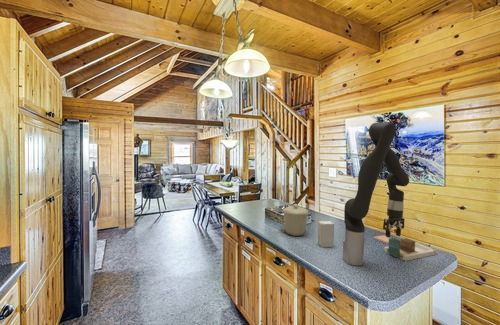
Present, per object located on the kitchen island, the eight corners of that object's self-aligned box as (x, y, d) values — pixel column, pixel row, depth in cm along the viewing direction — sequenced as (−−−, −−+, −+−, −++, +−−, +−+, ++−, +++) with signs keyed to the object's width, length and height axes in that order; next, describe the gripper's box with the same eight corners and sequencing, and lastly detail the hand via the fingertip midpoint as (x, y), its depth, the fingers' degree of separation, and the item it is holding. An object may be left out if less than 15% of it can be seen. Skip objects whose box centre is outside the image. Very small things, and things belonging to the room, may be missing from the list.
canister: (310, 238, 148) (311, 207, 147) (283, 237, 149) (284, 206, 148) (304, 229, 166) (305, 201, 165) (280, 228, 167) (281, 201, 166)
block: (408, 252, 126) (409, 242, 125) (400, 249, 130) (400, 239, 130) (414, 251, 127) (415, 241, 127) (405, 248, 132) (406, 238, 132)
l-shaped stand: (400, 259, 120) (401, 242, 120) (385, 251, 129) (385, 236, 129) (420, 254, 126) (420, 239, 126) (404, 248, 135) (405, 233, 134)
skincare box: (330, 243, 141) (331, 220, 140) (334, 247, 135) (335, 223, 134) (317, 243, 140) (318, 220, 140) (320, 247, 134) (321, 223, 134)
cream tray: (405, 261, 119) (406, 256, 119) (384, 251, 131) (384, 247, 131) (436, 254, 128) (436, 250, 128) (413, 245, 140) (413, 241, 140)
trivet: (387, 244, 141) (387, 242, 141) (373, 238, 151) (373, 236, 151) (398, 242, 145) (398, 240, 145) (384, 236, 154) (384, 235, 154)
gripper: (393, 210, 118) (390, 240, 119) (410, 209, 124) (408, 237, 125) (380, 207, 125) (378, 235, 126) (397, 206, 131) (395, 232, 132)
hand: (393, 236), depth 125 cm, fingers open, 8 cm apart
